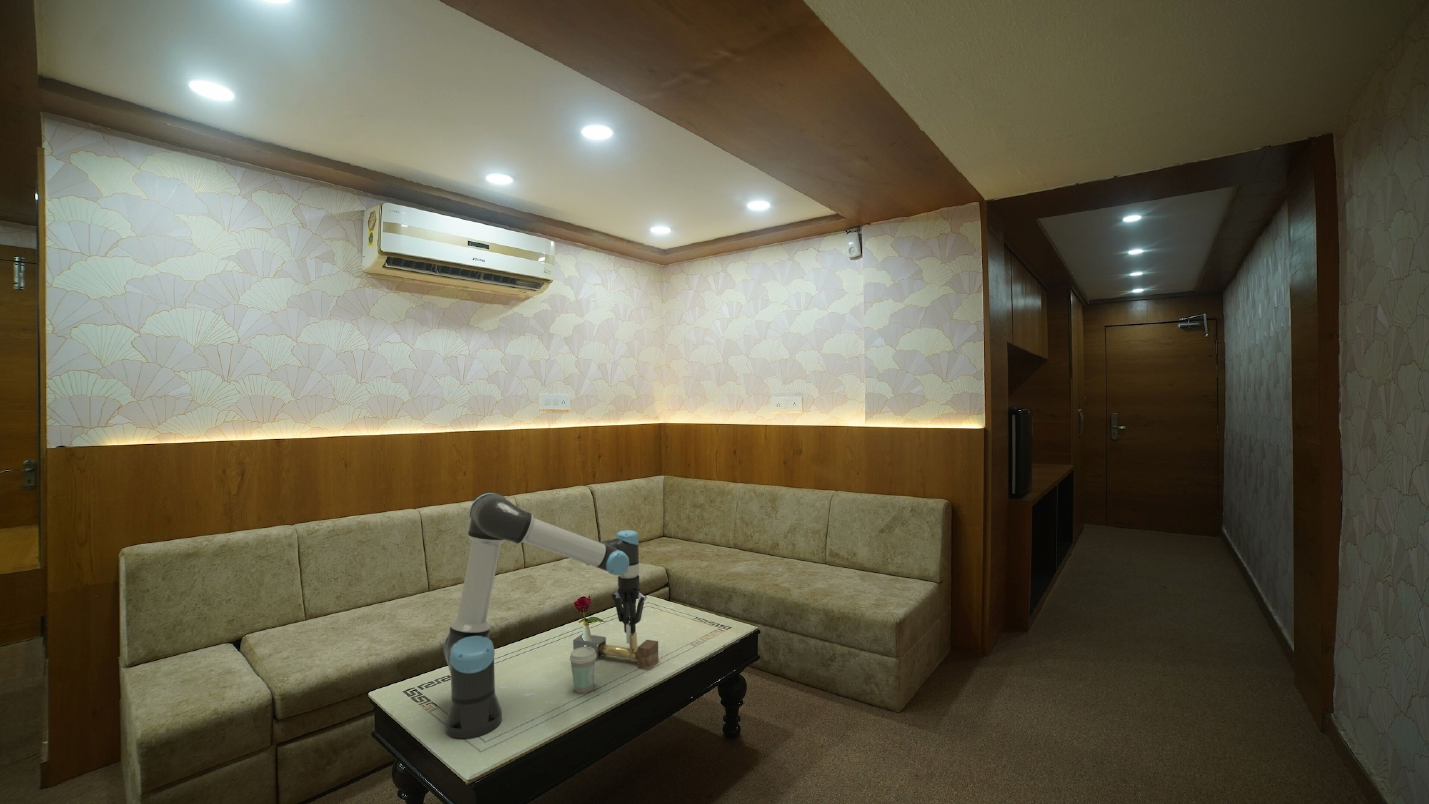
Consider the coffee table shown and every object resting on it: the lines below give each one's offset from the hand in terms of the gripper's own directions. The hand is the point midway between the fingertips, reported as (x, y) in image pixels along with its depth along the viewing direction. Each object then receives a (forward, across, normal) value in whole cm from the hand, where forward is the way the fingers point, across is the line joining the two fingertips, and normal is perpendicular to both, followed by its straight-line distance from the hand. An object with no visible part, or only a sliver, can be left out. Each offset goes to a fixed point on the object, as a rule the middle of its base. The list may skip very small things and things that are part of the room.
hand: (630, 641), depth 211 cm
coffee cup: (+7, -5, -22) cm, 24 cm away
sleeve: (+7, -17, 0) cm, 18 cm away
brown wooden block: (+7, +7, 0) cm, 10 cm away
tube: (+6, -7, 0) cm, 9 cm away
